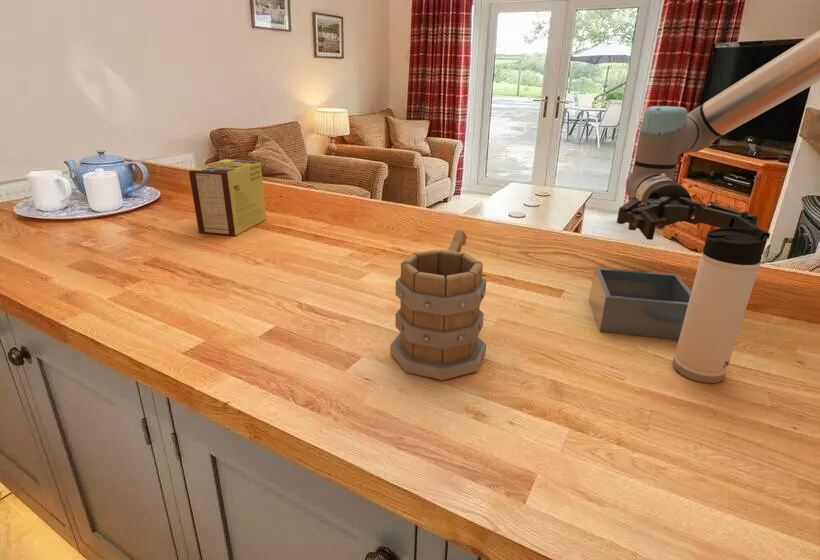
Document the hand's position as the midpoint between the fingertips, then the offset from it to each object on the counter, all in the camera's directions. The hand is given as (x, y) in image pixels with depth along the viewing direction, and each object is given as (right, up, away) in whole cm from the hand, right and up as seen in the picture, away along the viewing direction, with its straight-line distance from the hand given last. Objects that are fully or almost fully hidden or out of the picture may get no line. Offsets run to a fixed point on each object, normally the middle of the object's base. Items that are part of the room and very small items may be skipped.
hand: (702, 234), depth 71 cm
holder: (-4, -13, +11) cm, 17 cm away
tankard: (-37, -16, +3) cm, 40 cm away
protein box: (-87, +7, +55) cm, 104 cm away
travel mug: (-3, -19, -3) cm, 20 cm away
